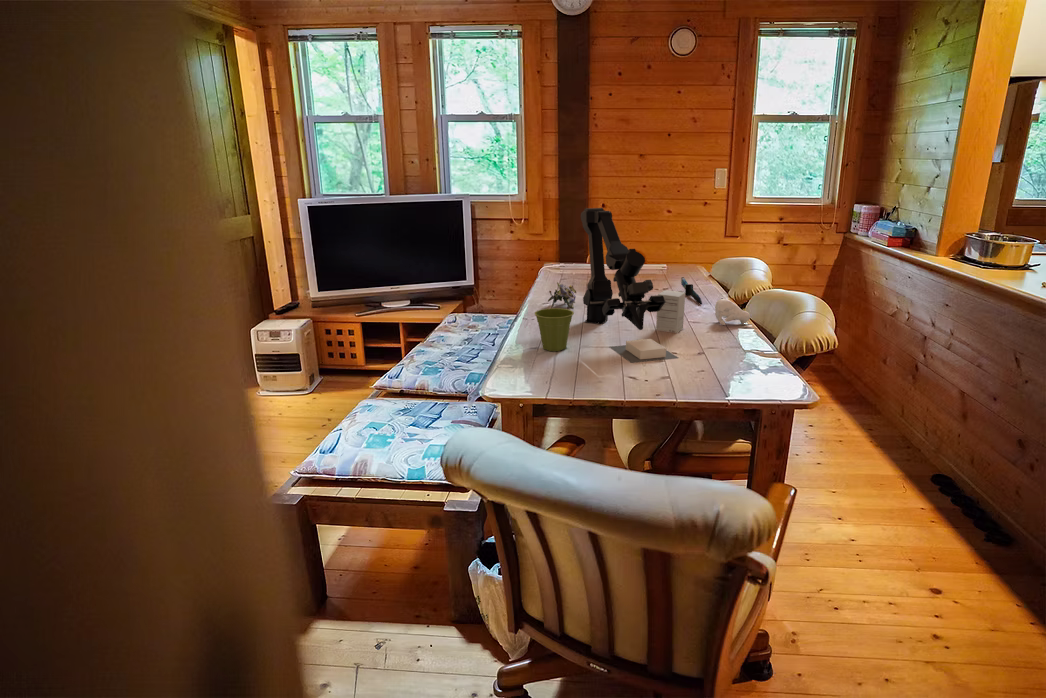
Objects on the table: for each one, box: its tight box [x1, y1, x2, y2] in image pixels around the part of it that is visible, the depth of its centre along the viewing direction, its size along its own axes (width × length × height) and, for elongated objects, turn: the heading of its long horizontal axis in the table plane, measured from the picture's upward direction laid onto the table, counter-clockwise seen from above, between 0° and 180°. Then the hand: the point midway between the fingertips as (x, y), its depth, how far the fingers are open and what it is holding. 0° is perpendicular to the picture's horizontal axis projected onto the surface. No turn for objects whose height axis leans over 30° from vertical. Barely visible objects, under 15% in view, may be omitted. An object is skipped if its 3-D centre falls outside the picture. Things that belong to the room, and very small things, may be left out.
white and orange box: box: [625, 338, 667, 360], centre depth 180 cm, size 3×8×10 cm
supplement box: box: [655, 290, 686, 334], centre depth 204 cm, size 7×7×13 cm
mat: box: [609, 344, 679, 364], centre depth 182 cm, size 16×15×1 cm
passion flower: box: [547, 282, 577, 309], centre depth 237 cm, size 11×11×12 cm
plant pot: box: [534, 307, 575, 352], centre depth 186 cm, size 12×12×11 cm
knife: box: [680, 276, 703, 305], centre depth 251 cm, size 31×3×4 cm, turn 177°
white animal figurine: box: [714, 298, 751, 326], centre depth 211 cm, size 6×8×12 cm
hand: (641, 329), depth 182 cm, fingers closed
